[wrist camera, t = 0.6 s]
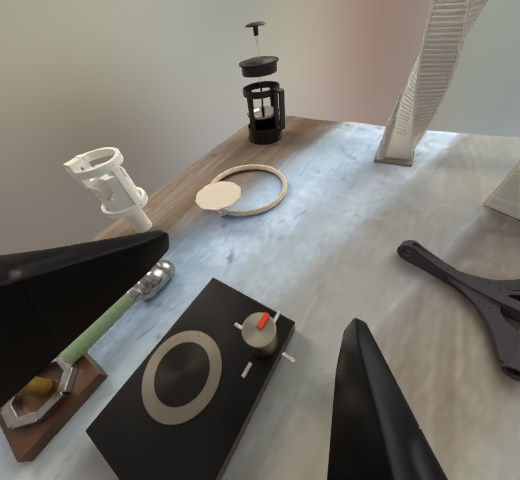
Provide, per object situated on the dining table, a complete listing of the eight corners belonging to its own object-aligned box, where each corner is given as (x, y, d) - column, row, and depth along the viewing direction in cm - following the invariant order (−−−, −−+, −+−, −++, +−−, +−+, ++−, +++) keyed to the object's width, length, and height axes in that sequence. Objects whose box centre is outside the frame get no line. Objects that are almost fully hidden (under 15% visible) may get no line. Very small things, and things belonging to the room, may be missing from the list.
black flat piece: (420, 225, 33) (428, 211, 31) (555, 285, 25) (578, 272, 23) (368, 283, 28) (374, 271, 26) (517, 383, 20) (544, 378, 18)
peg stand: (32, 460, 20) (-75, 474, 14) (4, 405, 24) (-93, 397, 18) (108, 375, 24) (49, 359, 18) (74, 338, 28) (15, 314, 22)
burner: (181, 449, 18) (180, 449, 18) (125, 388, 21) (124, 388, 21) (237, 356, 22) (237, 355, 22) (183, 318, 25) (182, 317, 25)
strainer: (116, 236, 40) (48, 162, 29) (142, 212, 44) (91, 138, 33) (145, 244, 38) (82, 167, 26) (169, 218, 42) (124, 141, 30)
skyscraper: (380, 143, 51) (441, -54, 30) (419, 147, 48) (518, -69, 27) (374, 161, 46) (441, -57, 26) (417, 167, 43) (534, -76, 22)
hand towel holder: (302, 158, 42) (244, 224, 32) (301, 177, 46) (248, 243, 35) (234, 145, 49) (168, 195, 39) (238, 162, 53) (178, 213, 42)
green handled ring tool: (38, 442, 21) (2, 444, 18) (16, 401, 24) (-19, 398, 21) (189, 276, 32) (180, 263, 29) (162, 261, 35) (152, 247, 32)
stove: (205, 566, 15) (192, 587, 13) (103, 430, 21) (83, 431, 19) (309, 335, 25) (310, 327, 23) (218, 285, 30) (213, 275, 28)
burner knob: (268, 365, 21) (264, 354, 18) (241, 347, 22) (233, 334, 19) (283, 335, 23) (282, 321, 19) (258, 320, 24) (253, 304, 21)
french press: (240, 139, 61) (220, 27, 44) (262, 127, 66) (251, 20, 48) (272, 148, 56) (263, 24, 38) (293, 134, 60) (294, 16, 43)
